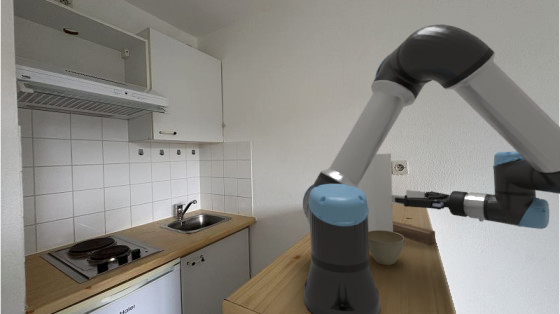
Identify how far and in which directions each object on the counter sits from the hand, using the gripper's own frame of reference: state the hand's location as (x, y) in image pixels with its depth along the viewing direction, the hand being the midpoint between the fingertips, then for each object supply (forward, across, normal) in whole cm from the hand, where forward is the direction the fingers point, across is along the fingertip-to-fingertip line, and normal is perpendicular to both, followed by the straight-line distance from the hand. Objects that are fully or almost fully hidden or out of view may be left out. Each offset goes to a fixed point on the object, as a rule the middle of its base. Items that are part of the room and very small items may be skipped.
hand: (397, 195), depth 85 cm
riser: (+5, -12, -14) cm, 19 cm away
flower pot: (-9, -25, -14) cm, 30 cm away
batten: (0, -1, -14) cm, 14 cm away
